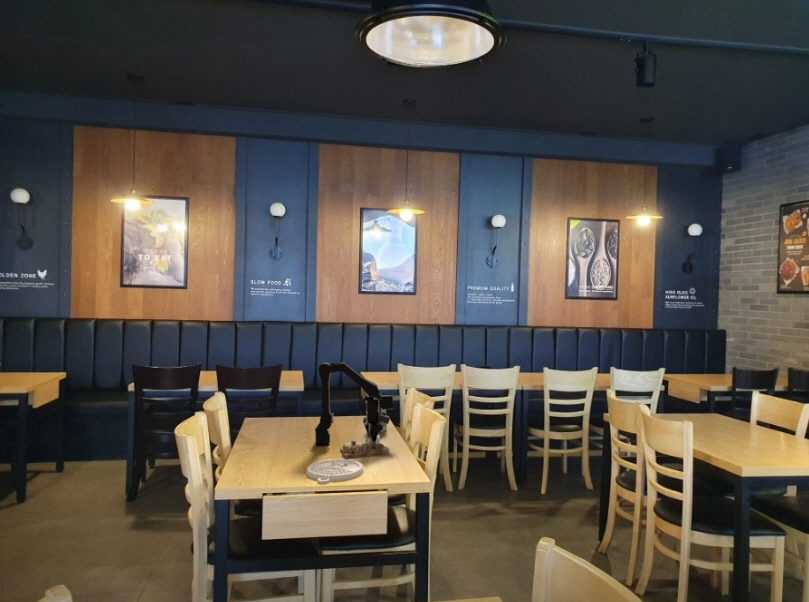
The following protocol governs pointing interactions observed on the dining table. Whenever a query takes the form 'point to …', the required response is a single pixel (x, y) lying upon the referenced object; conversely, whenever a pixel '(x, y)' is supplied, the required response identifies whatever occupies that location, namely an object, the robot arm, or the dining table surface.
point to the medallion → (334, 470)
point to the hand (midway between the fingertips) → (372, 441)
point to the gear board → (363, 450)
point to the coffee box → (380, 413)
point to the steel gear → (369, 441)
